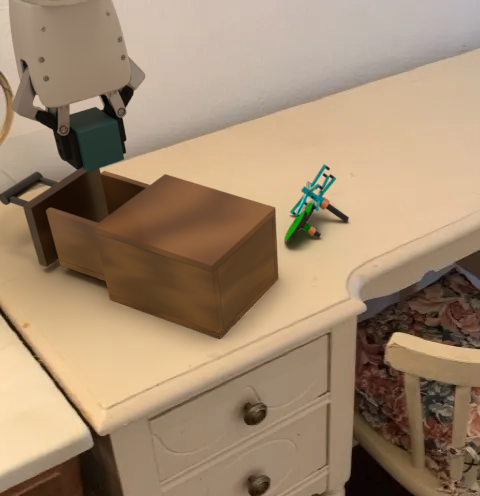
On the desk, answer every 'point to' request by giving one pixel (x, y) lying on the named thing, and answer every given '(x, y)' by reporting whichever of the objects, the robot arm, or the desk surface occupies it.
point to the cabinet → (189, 254)
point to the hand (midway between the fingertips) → (94, 155)
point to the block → (96, 138)
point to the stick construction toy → (312, 206)
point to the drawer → (71, 215)
